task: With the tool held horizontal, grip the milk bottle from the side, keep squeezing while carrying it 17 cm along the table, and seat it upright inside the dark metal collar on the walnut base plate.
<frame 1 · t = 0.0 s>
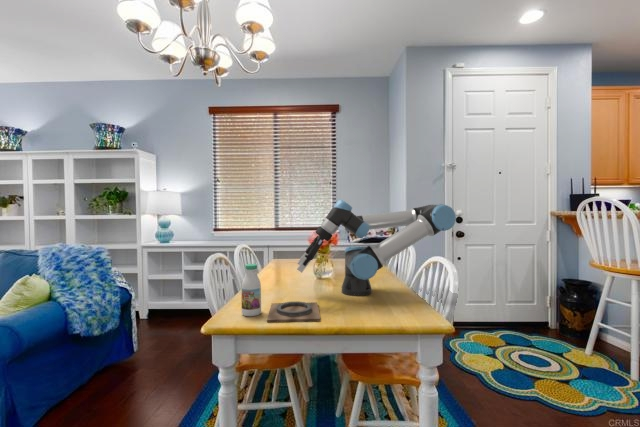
hand: (299, 267, 144), 15 cm above the table, tool tilted 35°, fingers open, 13 cm apart
collar stand: (294, 312, 129), on the table
milk bottle: (251, 314, 128), on the table
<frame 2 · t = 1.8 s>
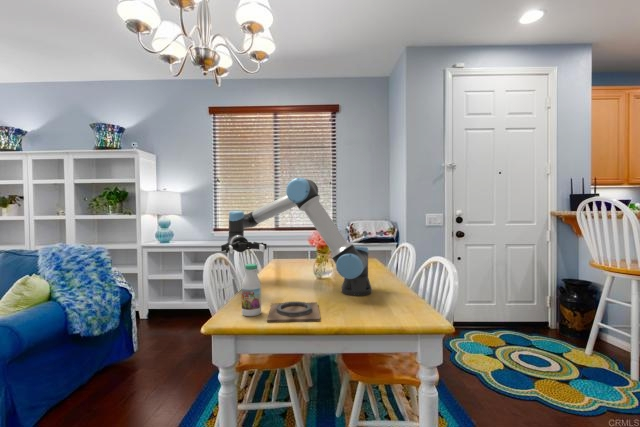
hand: (248, 249, 136), 25 cm above the table, tool horizontal, fingers open, 13 cm apart
nothing on the table moved.
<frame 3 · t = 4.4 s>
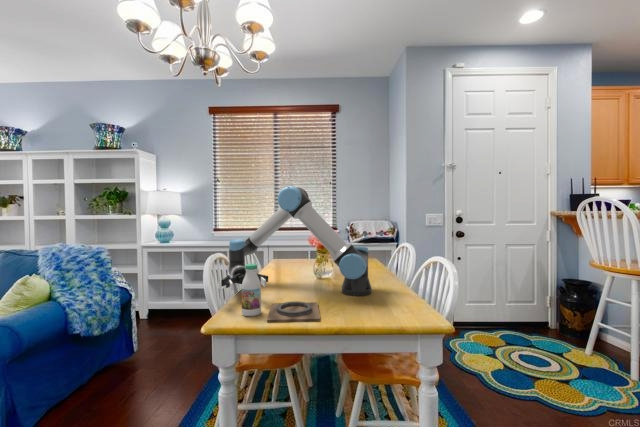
hand: (248, 285, 131), 11 cm above the table, tool horizontal, fingers open, 13 cm apart
nothing on the table moved.
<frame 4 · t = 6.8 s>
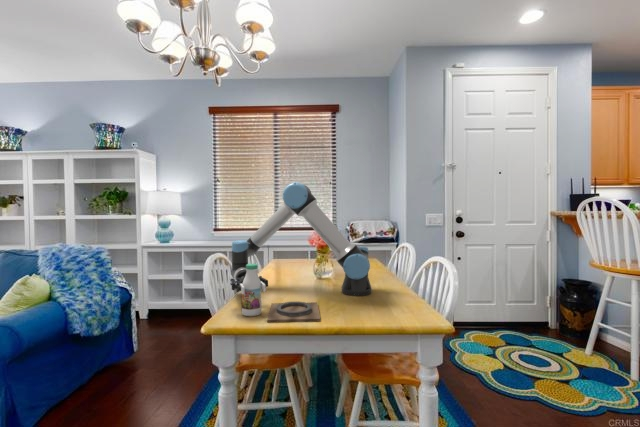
hand: (254, 289, 123), 11 cm above the table, tool horizontal, fingers closed on milk bottle, 8 cm apart
milk bottle: (251, 313, 128), on the table, touching gripper
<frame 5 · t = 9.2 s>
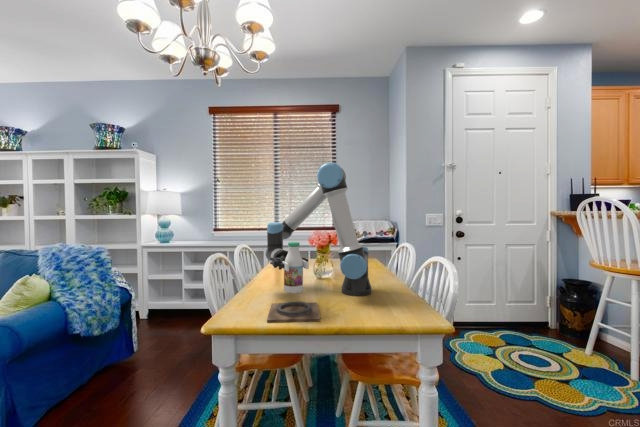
hand: (298, 266, 124), 20 cm above the table, tool horizontal, fingers closed on milk bottle, 8 cm apart
milk bottle: (293, 291, 129), point 9 cm above the table, touching gripper
when the fingers open (13 cm above the table, at t = 11.5 s): milk bottle drops 1 cm, resting on collar stand.
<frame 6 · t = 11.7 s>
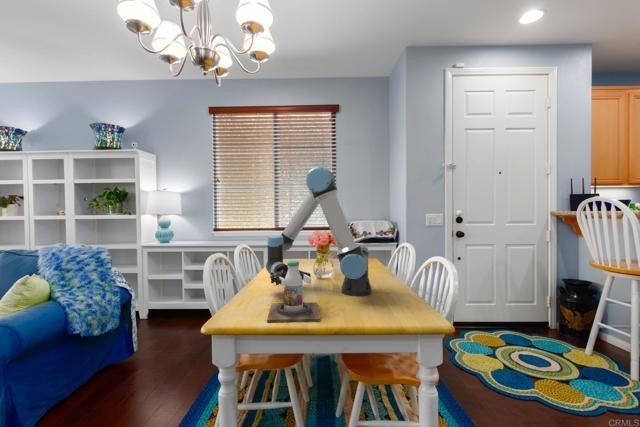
hand: (297, 282, 125), 13 cm above the table, tool horizontal, fingers open, 10 cm apart
milk bottle: (293, 310, 129), point 1 cm above the table, touching collar stand
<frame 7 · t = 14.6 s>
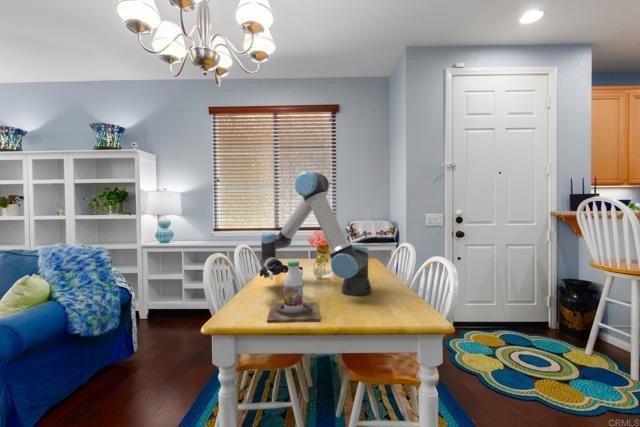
hand: (287, 275, 137), 13 cm above the table, tool horizontal, fingers open, 13 cm apart
nothing on the table moved.
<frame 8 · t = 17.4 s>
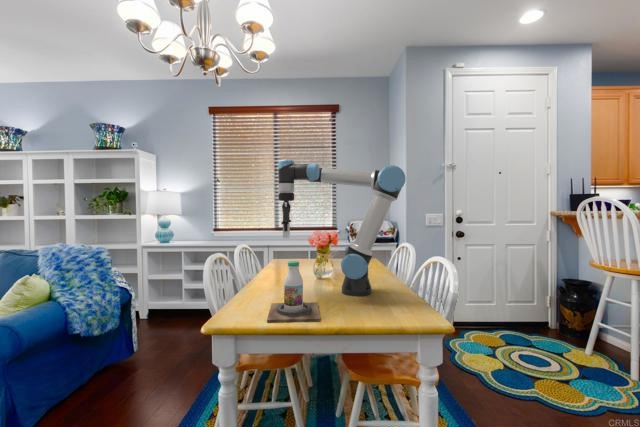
hand: (286, 236, 152), 29 cm above the table, tool pointing down, fingers open, 13 cm apart
nothing on the table moved.
at the end: milk bottle 0.4 cm off-centre on the collar stand, point 0.8 cm above the collar stand's base; milk bottle tilted 0°; the gripper is holding nothing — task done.
